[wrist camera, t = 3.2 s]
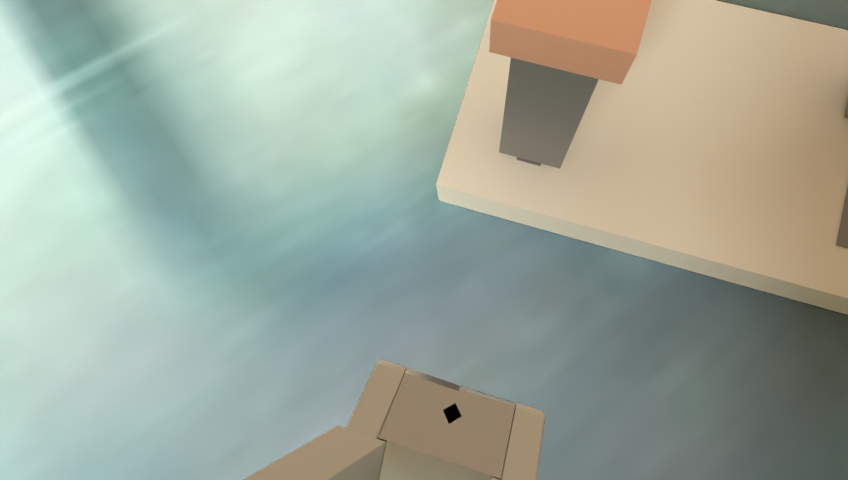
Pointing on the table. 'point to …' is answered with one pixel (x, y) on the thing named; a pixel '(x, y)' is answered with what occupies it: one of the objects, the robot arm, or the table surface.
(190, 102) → the table surface
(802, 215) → the switch base
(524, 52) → the terracotta switch knob
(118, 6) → the table surface
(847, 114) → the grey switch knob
